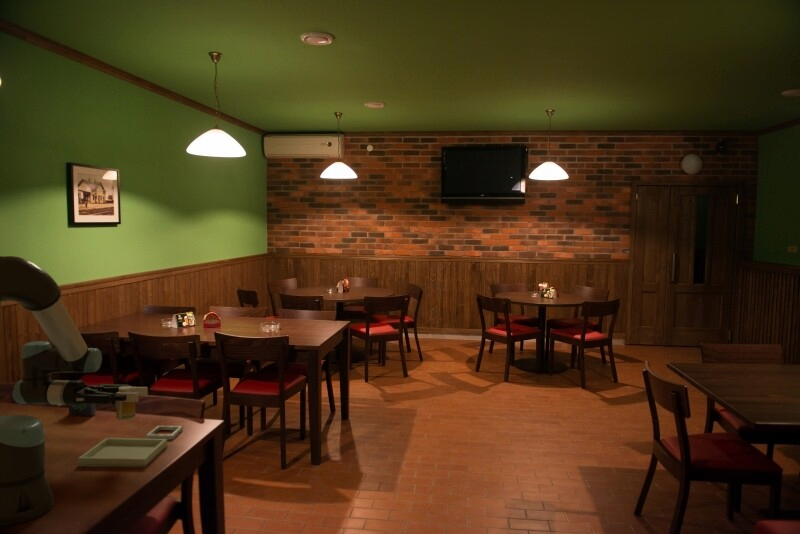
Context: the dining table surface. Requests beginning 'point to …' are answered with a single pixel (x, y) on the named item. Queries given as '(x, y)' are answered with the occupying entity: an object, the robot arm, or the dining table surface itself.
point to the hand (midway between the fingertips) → (142, 394)
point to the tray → (123, 452)
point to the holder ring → (153, 434)
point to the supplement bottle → (125, 406)
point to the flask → (82, 409)
